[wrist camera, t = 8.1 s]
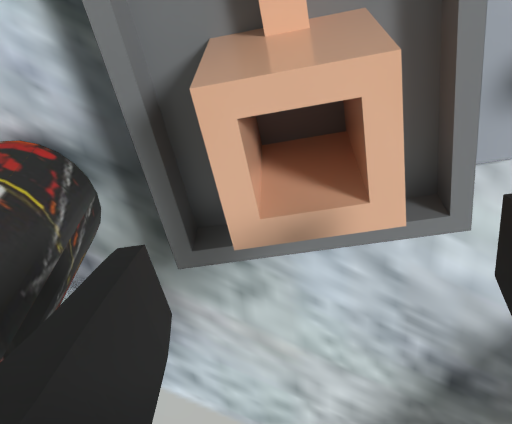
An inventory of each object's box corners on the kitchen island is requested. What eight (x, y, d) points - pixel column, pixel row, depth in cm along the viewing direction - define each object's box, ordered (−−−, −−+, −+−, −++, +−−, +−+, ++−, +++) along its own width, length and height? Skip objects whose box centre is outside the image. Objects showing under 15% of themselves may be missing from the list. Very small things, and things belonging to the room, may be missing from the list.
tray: (451, 197, 20) (471, 230, 18) (186, 234, 22) (178, 269, 20) (468, -224, 13) (504, -246, 11) (67, -127, 14) (35, -130, 12)
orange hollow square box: (374, 150, 18) (406, 225, 14) (241, 172, 19) (234, 250, 15) (357, -118, 14) (396, -123, 10) (182, -77, 14) (147, -65, 10)
